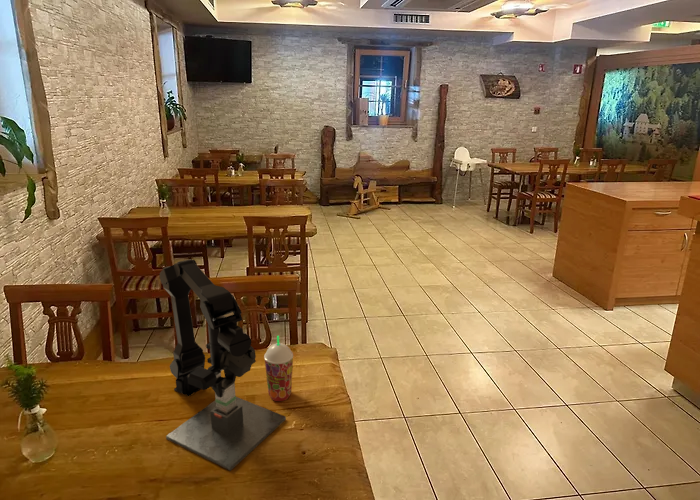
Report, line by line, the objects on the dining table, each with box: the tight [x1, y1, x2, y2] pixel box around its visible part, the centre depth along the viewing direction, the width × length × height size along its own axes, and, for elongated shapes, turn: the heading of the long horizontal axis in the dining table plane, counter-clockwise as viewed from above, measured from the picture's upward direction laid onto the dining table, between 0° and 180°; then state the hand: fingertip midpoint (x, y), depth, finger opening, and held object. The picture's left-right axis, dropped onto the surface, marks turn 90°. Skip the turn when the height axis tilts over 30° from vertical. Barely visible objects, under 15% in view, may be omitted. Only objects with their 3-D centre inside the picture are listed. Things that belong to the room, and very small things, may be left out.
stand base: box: [165, 396, 287, 472], centre depth 128 cm, size 22×22×6 cm
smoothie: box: [263, 335, 294, 402], centre depth 140 cm, size 8×8×20 cm
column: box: [214, 376, 237, 416], centre depth 126 cm, size 4×4×9 cm
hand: (225, 393), depth 125 cm, fingers closed on column, 4 cm apart
